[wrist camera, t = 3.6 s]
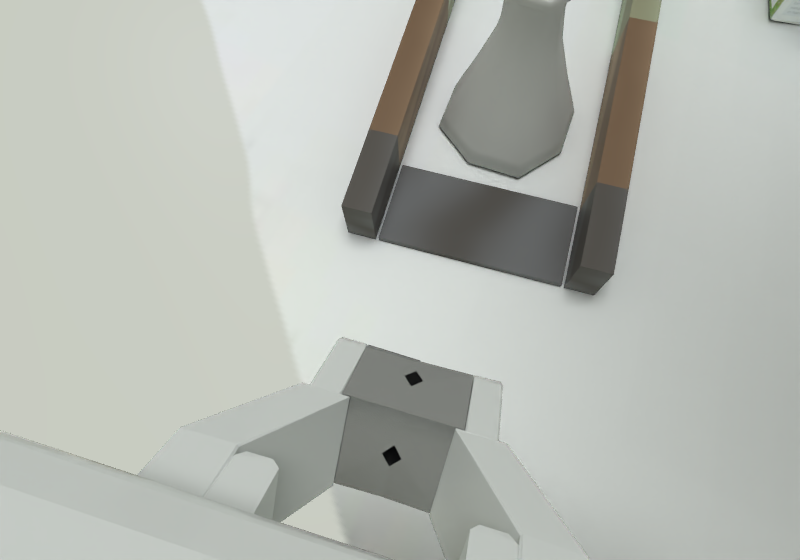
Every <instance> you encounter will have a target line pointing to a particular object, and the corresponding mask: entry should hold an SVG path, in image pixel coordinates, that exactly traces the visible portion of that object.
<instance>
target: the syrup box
mask: <svg viewBox="0 0 800 560" xmlns="http://www.w3.org/2000/svg"><path fill="white" fill-rule="evenodd" d="M769 5H770V18H771V19H772V20H774V21H780V22H786V23H792V24H799V25H800V0H769Z"/></svg>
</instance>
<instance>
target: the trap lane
mask: <svg viewBox="0 0 800 560" xmlns="http://www.w3.org/2000/svg"><path fill="white" fill-rule="evenodd" d="M454 1H455V0H416V1H415V4H414V7H413V10H412V12H411V15H410V18H409V21H408V23H407V26H406V29H405V32H404V35H403V37H402V40H401V43H400V46H399V48H398V51H397V54H396V57H395V59H394V62H393V65H392V68H391V70H390V73H389V76H388V79H387V81H386V84H385V87H384V90H383V93H382V95H381V98H380V101H379V104H378V106H377V109H376V112H375V115H374V117H373V120H372V123H371V126H370V128H369V131H368V134H367V137H366V140H365V142H364V145H363V148H362V151H361V153H360V156H359V159H358V162H357V164H356V167H355V170H354V173H353V175H352V178H351V181H350V184H349V186H348V189H347V192H346V195H345V198H344V200H343V203H342V210H343V213H344V217H345V221H346V224H347V228H348V232H351V233H355V234H358V235H362V236H366V237H370V238H374V239H376V236H377V233H378V230H379V227H380V224H381V221H382V218H383V215H384V212H385V209H386V206H387V203H388V200H389V197H390V194H391V191H392V188H393V185H394V182H395V179H396V176H397V173H398V170H399V167H400V164H401V161H402V158H403V155H404V152H405V149H406V146H407V143H408V140H409V137H410V134H411V131H412V128H413V125H414V122H415V119H416V116H417V113H418V110H419V107H420V104H421V101H422V98H423V95H424V92H425V89H426V86H427V83H428V80H429V77H430V74H431V71H432V68H433V65H434V62H435V59H436V56H437V53H438V50H439V47H440V43H441V40H442V37H443V34H444V31H445V28H446V25H447V22H448V19H449V16H450V13H451V10H452V7H453V4H454ZM661 1H662V0H623V2H622V7H621V12H620V17H619V21H618V26H617V31H616V36H615V41H614V46H613V51H612V56H611V61H610V65H609V70H608V75H607V80H606V85H605V90H604V95H603V100H602V105H601V109H600V114H599V119H598V124H597V129H596V134H595V139H594V144H593V149H592V153H591V158H590V163H589V168H588V173H587V178H586V183H585V188H584V193H583V197H582V202H581V207H580V212H579V217H578V222H577V227H576V232H575V237H574V241H573V246H572V251H571V256H570V261H569V266H568V271H567V276H566V281H565V285H564V288H568V289H572V290H576V291H580V292H584V293H588V294H592V295H594V294H595V293H596V292H597V291H598V290H599V289H600V288H601V287H602V286H603V285H604V284H605V283H606V282H607V281H608V280H609V279H610V278H611V277H612V276H613V275H614V269H615V264H616V258H617V252H618V247H619V241H620V235H621V229H622V224H623V218H624V212H625V207H626V201H627V195H628V189H629V184H630V178H631V172H632V167H633V161H634V155H635V149H636V144H637V138H638V132H639V127H640V121H641V115H642V109H643V104H644V98H645V92H646V87H647V81H648V75H649V69H650V64H651V58H652V52H653V47H654V41H655V35H656V29H657V24H658V18H659V12H660V7H661ZM577 208H578V207H576V206H572V205H568V204H563V203H559V202H555V201H551V200H547V199H542V198H538V197H534V196H530V195H526V194H522V193H517V192H513V191H509V190H505V189H501V188H497V187H492V186H488V185H484V184H480V183H476V182H471V181H467V180H463V179H459V178H455V177H451V176H446V175H442V174H438V173H434V172H430V171H426V170H421V169H417V168H413V167H409V166H405V165H403V166H402V169H401V172H400V175H399V178H398V181H397V184H396V187H395V190H394V193H393V196H392V199H391V202H390V205H389V208H388V211H387V214H386V217H385V220H384V223H383V226H382V229H381V232H380V236H379V240H382V241H386V242H389V243H393V244H397V245H401V246H405V247H409V248H413V249H417V250H421V251H424V252H428V253H432V254H436V255H440V256H444V257H448V258H452V259H456V260H459V261H463V262H467V263H471V264H475V265H479V266H483V267H487V268H490V269H494V270H498V271H502V272H506V273H510V274H514V275H518V276H522V277H525V278H529V279H533V280H537V281H541V282H545V283H549V284H553V285H557V286H561V285H562V280H563V275H564V271H565V266H566V261H567V256H568V251H569V246H570V241H571V237H572V232H573V227H574V222H575V217H576V212H577Z"/></svg>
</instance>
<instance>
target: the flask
mask: <svg viewBox="0 0 800 560" xmlns="http://www.w3.org/2000/svg"><path fill="white" fill-rule="evenodd" d="M568 1H570V0H504V3H503V8H502V13H501V16H500V19H499V21H498V24H497V26H496V27H495V29H494V30H493V32H492V33H491V35H490V37H489V38H488V40H487V41H486V43H485V44H484V46H483V47H482V49H481V50H480V52H479V53H478V55H477V56H476V58H475V59H474V61H473V62H472V63H471V65H470V66H469V67H468V69H467V70H466V71H465V73H464V74H463V76H462V77H461V78H460V80H459V81H458V83H457V84H456V86H455V88H454V91H453V93H452V95H451V98H450V100H449V103H448V105H447V108H446V110H445V112H444V115H443V117H442V120H441V122H440V124H439V126H440V127H441V129H442V130H443V131H444V133H445V134H446V135H447V136H448V138H449V139H450V140H451V141H452V143H453V144H454V145H455V146H456V148H457V149H458V150H459V151H460V153H461V154H462V155H463V157H464V158H465V159H466V160H467V162H468V163H472V164H475V165H478V166H481V167H485V168H488V169H491V170H495V171H498V172H501V173H504V174H508V175H511V176H514V177H517V178H519V177H521V176H522V175H524V174H526V173H527V172H529V171H531V170H532V169H534V168H536V167H537V166H539V165H541V164H542V163H544V162H546V161H547V160H549V159H551V158H552V157H554V156H556V155H558V154H559V153H561V150H562V147H563V144H564V141H565V138H566V135H567V131H568V128H569V125H570V122H571V119H572V116H573V113H574V108H573V101H572V96H571V91H570V86H569V81H568V75H567V69H566V61H565V53H564V46H563V26H564V15H565V7H566V3H567V2H568Z"/></svg>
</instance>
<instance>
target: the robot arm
mask: <svg viewBox="0 0 800 560" xmlns="http://www.w3.org/2000/svg"><path fill="white" fill-rule="evenodd" d="M502 390H503V385H502V383H501V382H499V381H495V380H491V379H487V378H483V377H479V376H475V375H474V377H473V375H470V374H466V373H462V372H458V371H454V370H451V369H447V368H443V367H439V366H435V365H431V364H428V363H424V362H420V360H417V359H413V358H410V357H407V356H404V355H400V354H397V353H394V352H391V351H387V350H384V349H381V348H378V347H374V346H371V345H367V344H365V343H362V342H358V341H354V340H351V339H347V338H343V337H342V338H340V339H339V340H338V341H337V342H336V344H335V345H334V347H333V349H332V350H331V352H330V353H329V355H328V357H327V358H326V360H325V361H324V363H323V364H322V366H321V368H320V369H319V371H318V372H317V374H316V376H315V377H314V379H313V380H312V382H311V384H310V385H309V384H305V383H300V384H297V385H294V386H291V387H289V388H286V389H283V390H281V391H278V392H275V393H272V394H270V395H267V396H264V397H261V398H259V399H256V400H253V401H250V402H248V403H245V404H242V405H240V406H237V407H234V408H231V409H229V410H226V411H223V412H221V413H218V414H215V415H212V416H209V417H207V418H204V419H201V420H198V421H196V422H193V423H190V424H188V425H185V426H182V427H180V428H179V429H178V430H177V431H176V432H175V433H174V434H173V436H172V437H171V438H170V439H169V440H168V441H167V442H166V443H165V445H164V446H163V447H162V448H161V449H160V450H159V451H158V452H157V453H156V455H155V456H154V457H153V458H152V459H151V460H150V461H149V462H148V464H147V465H146V466H145V467H144V468H143V469H142V470H141V471H140V473H139V474H138V475H134V474H131V473H128V472H125V471H122V470H119V469H116V468H113V467H110V466H107V465H104V464H101V463H98V462H95V461H91V460H88V459H85V458H82V457H79V456H77V455H73V454H70V453H67V452H64V451H61V450H58V449H55V448H52V447H49V446H46V445H43V444H40V443H37V442H34V441H31V440H28V439H25V438H22V437H18V436H16V435H13V434H9V433H7V432H4V431H0V560H393V559H390V558H387V557H384V556H381V555H378V554H375V553H372V552H369V551H366V550H363V549H360V548H357V547H354V546H351V545H348V544H344V543H341V542H338V541H335V540H332V539H329V538H326V537H323V536H320V535H317V534H314V533H311V532H308V531H305V530H302V529H299V528H295V527H292V526H289V525H286V524H283V523H280V522H281V521H283V520H284V519H286V518H287V517H289V516H290V515H291V514H293V513H294V512H296V511H297V510H298V509H300V508H301V507H303V506H304V505H306V504H307V503H308V502H310V501H311V500H313V499H314V498H316V497H317V496H319V495H320V494H321V493H323V492H324V491H326V490H327V489H329V488H330V487H331V486H333V483H336V484H340V485H343V486H347V487H350V488H354V489H357V490H361V491H364V492H368V493H371V494H375V495H378V496H382V497H385V498H387V499H390V500H393V501H396V502H399V503H402V504H405V505H408V506H410V507H413V508H416V509H419V510H422V511H425V512H428V513H430V515H429V516H430V519H431V521H432V524H433V527H434V530H435V532H436V535H437V538H438V540H439V543H440V546H441V548H442V551H443V554H444V557H445V559H446V560H589V557H588V555H587V554H586V553H585V551H584V550H583V549H582V547H581V546H580V544H579V543H578V542H577V540H576V539H575V537H574V536H573V535H572V533H571V532H570V531H569V529H568V528H567V526H566V525H565V524H564V522H563V521H562V519H561V518H560V517H559V515H558V514H557V512H556V511H555V510H554V508H553V507H552V506H551V504H550V503H549V501H548V500H547V499H546V497H545V496H544V494H543V493H542V492H541V490H540V489H539V488H538V486H537V485H536V483H535V482H534V481H533V479H532V478H531V476H530V475H529V474H528V472H527V471H526V469H525V468H524V467H523V465H522V464H521V463H520V461H519V460H518V458H517V457H516V456H515V454H514V453H513V451H512V450H511V449H510V447H509V446H508V445H507V444H506V443H503V442H500V441H499V430H500V417H501V403H502Z"/></svg>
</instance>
